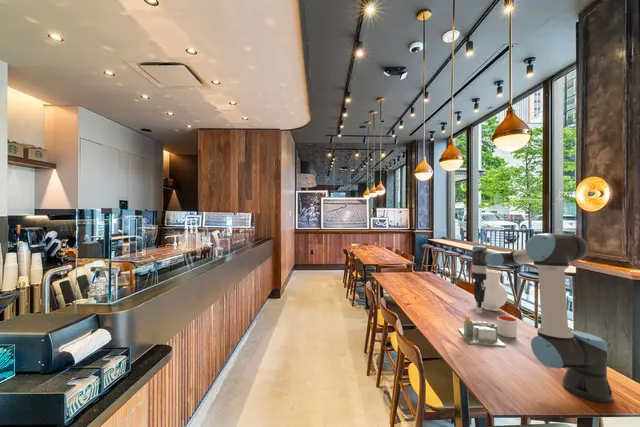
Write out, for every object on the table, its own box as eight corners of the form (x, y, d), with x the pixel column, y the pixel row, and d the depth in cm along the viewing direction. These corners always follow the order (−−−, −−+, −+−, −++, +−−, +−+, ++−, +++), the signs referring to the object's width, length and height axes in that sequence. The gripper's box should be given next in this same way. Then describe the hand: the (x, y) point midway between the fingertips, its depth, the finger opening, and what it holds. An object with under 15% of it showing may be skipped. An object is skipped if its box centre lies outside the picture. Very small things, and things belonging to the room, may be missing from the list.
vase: (512, 311, 217) (513, 272, 217) (492, 315, 209) (493, 273, 209) (489, 304, 235) (490, 267, 235) (470, 307, 227) (471, 268, 227)
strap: (495, 328, 167) (495, 327, 167) (474, 325, 169) (474, 323, 169) (493, 327, 169) (493, 325, 169) (472, 323, 171) (473, 321, 171)
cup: (519, 339, 168) (520, 322, 168) (500, 337, 170) (501, 320, 170) (512, 332, 178) (512, 316, 178) (494, 330, 180) (494, 314, 180)
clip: (472, 323, 168) (472, 317, 168) (467, 323, 168) (467, 316, 168) (469, 321, 172) (469, 314, 172) (465, 320, 173) (465, 314, 173)
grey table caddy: (505, 347, 158) (505, 331, 158) (469, 344, 161) (469, 328, 161) (490, 332, 178) (490, 318, 178) (458, 329, 181) (458, 316, 181)
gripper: (490, 274, 163) (490, 316, 162) (481, 270, 175) (481, 309, 175) (476, 274, 164) (476, 315, 163) (468, 270, 177) (468, 308, 176)
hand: (478, 312), depth 169 cm, fingers closed
